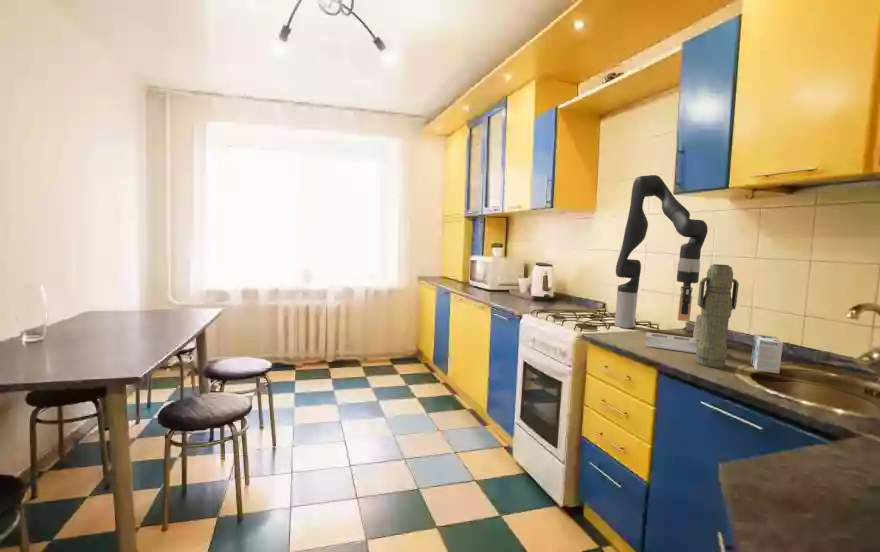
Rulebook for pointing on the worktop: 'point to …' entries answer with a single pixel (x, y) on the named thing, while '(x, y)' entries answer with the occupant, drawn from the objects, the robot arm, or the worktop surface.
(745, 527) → the worktop surface
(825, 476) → the worktop surface
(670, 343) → the rack rail
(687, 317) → the square peg
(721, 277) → the thermos
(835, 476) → the worktop surface
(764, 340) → the light bulb box
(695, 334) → the carving
